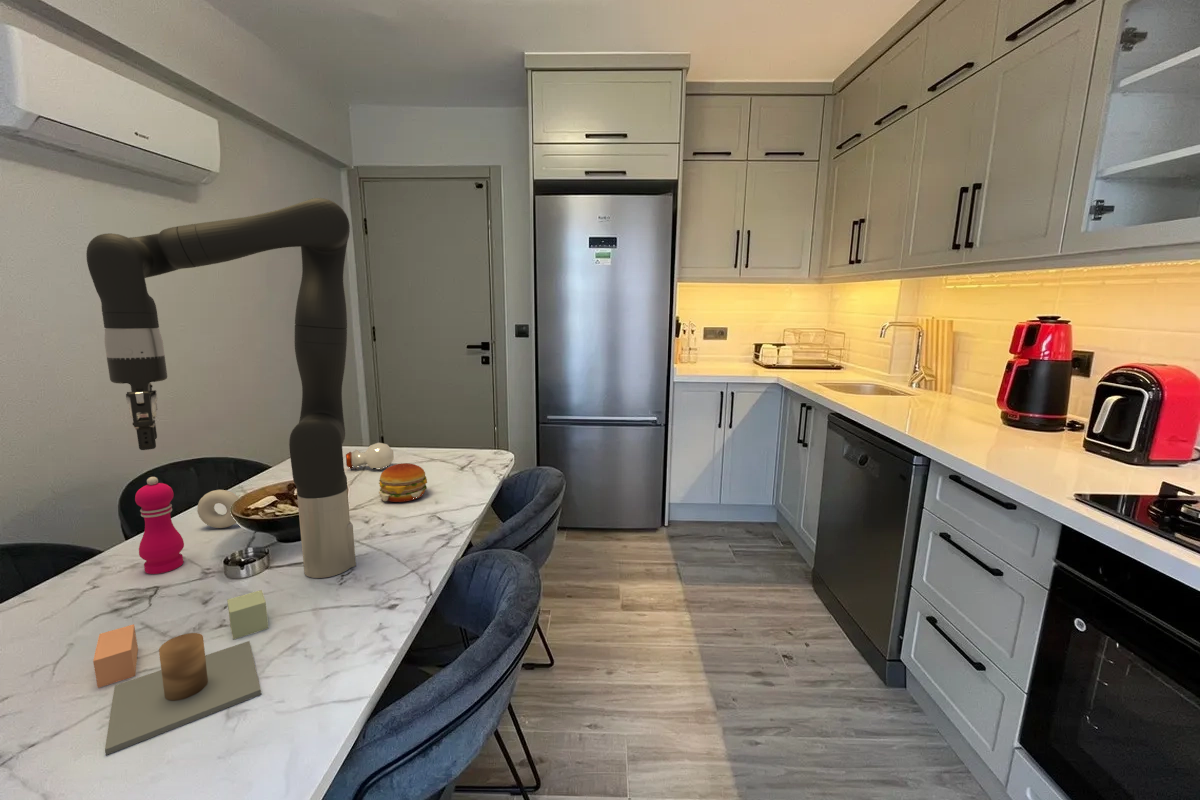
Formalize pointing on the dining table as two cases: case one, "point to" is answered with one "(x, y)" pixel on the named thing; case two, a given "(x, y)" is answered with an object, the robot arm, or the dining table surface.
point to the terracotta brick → (115, 655)
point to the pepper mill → (158, 529)
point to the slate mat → (151, 714)
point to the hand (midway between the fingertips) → (148, 444)
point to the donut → (208, 511)
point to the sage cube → (247, 614)
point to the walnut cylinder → (183, 666)
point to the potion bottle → (371, 457)
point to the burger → (402, 482)
